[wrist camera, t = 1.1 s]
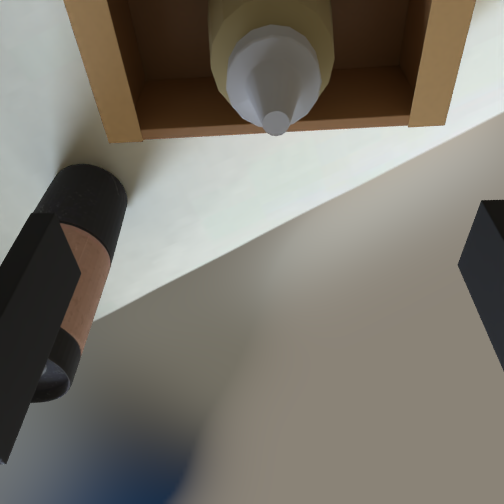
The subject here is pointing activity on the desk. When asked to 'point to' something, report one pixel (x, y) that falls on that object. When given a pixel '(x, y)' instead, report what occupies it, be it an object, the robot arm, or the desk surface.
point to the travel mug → (81, 261)
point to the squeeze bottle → (271, 57)
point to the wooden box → (220, 110)
